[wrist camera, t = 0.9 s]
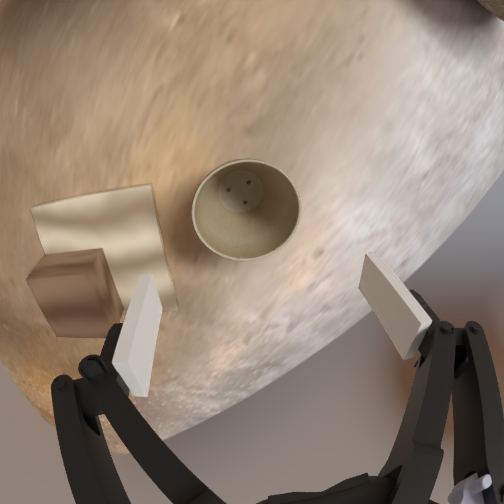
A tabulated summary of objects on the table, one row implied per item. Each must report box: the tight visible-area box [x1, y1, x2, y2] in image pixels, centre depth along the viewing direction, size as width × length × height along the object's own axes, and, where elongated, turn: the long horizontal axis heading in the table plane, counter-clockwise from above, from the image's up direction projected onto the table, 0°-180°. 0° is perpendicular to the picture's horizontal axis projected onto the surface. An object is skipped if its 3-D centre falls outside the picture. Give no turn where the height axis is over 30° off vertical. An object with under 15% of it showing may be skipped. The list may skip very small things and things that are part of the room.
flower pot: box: [192, 159, 301, 261], centre depth 28 cm, size 10×10×7 cm
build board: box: [30, 183, 178, 313], centre depth 33 cm, size 18×18×1 cm
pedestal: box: [26, 248, 124, 338], centre depth 31 cm, size 10×10×6 cm
